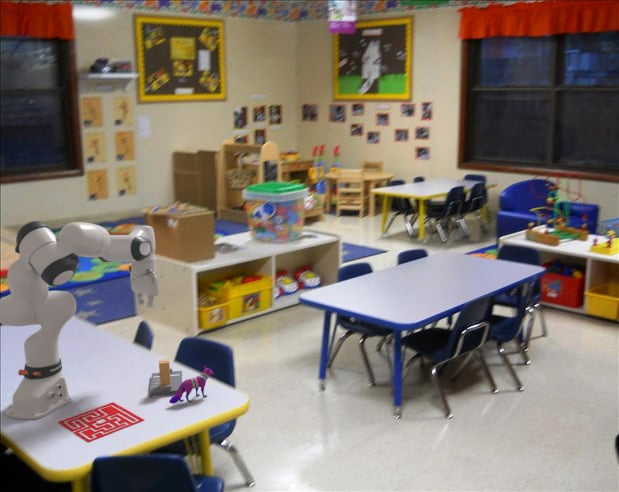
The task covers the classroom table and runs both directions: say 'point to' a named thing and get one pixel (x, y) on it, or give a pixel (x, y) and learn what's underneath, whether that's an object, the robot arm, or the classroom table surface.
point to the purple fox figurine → (192, 386)
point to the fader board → (165, 389)
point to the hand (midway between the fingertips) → (145, 305)
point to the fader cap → (164, 372)
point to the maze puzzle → (90, 432)
